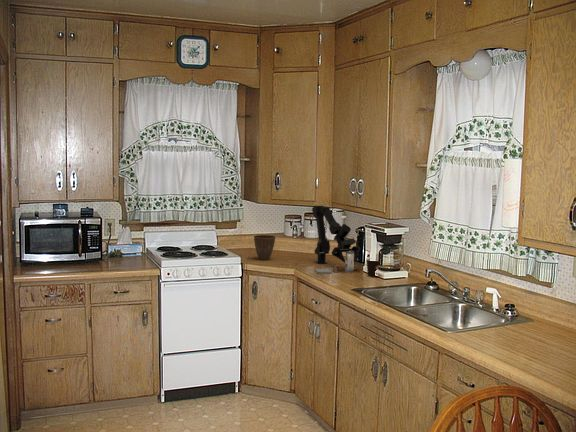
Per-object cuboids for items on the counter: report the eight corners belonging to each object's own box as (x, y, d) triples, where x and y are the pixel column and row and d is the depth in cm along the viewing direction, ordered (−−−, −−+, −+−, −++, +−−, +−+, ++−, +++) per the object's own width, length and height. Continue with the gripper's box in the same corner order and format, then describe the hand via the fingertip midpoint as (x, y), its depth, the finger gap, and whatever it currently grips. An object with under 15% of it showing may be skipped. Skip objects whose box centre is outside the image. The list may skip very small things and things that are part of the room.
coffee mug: (369, 277, 358) (369, 261, 357) (363, 274, 366) (364, 258, 366) (387, 277, 361) (387, 260, 360) (381, 274, 370) (381, 258, 369)
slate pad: (315, 270, 376) (315, 269, 376) (329, 270, 377) (329, 269, 377) (317, 273, 367) (317, 271, 367) (331, 273, 368) (331, 271, 368)
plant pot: (274, 261, 405) (275, 238, 404) (252, 260, 405) (253, 237, 404) (275, 257, 420) (275, 235, 419) (253, 257, 420) (254, 234, 419)
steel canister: (344, 270, 378) (344, 250, 377) (352, 270, 379) (353, 250, 378) (346, 272, 373) (346, 251, 372) (354, 272, 374) (355, 251, 372)
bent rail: (331, 269, 382) (331, 264, 381) (337, 269, 382) (338, 264, 382) (334, 273, 370) (335, 268, 369) (342, 273, 370) (342, 268, 370)
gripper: (334, 234, 373) (343, 254, 364) (359, 233, 382) (368, 253, 373) (327, 245, 380) (336, 265, 372) (351, 243, 389) (360, 263, 381)
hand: (350, 261), depth 374 cm, fingers open, 9 cm apart
